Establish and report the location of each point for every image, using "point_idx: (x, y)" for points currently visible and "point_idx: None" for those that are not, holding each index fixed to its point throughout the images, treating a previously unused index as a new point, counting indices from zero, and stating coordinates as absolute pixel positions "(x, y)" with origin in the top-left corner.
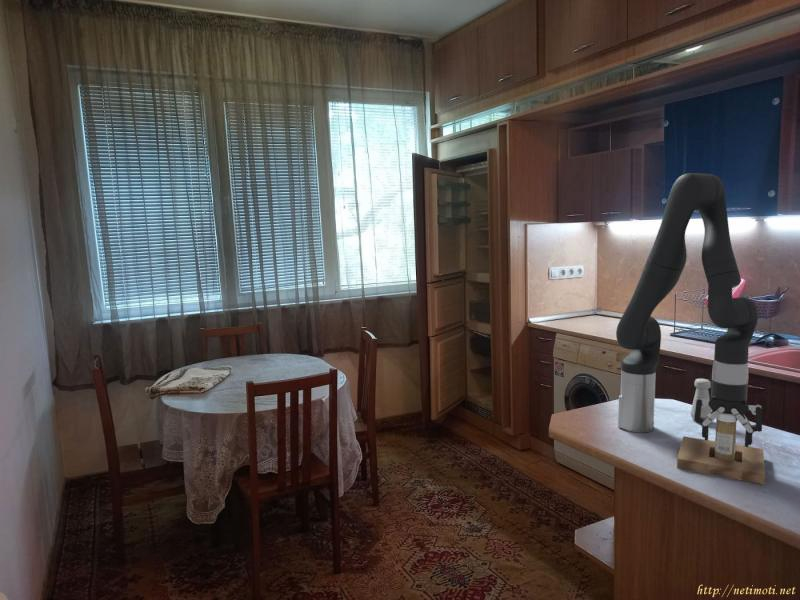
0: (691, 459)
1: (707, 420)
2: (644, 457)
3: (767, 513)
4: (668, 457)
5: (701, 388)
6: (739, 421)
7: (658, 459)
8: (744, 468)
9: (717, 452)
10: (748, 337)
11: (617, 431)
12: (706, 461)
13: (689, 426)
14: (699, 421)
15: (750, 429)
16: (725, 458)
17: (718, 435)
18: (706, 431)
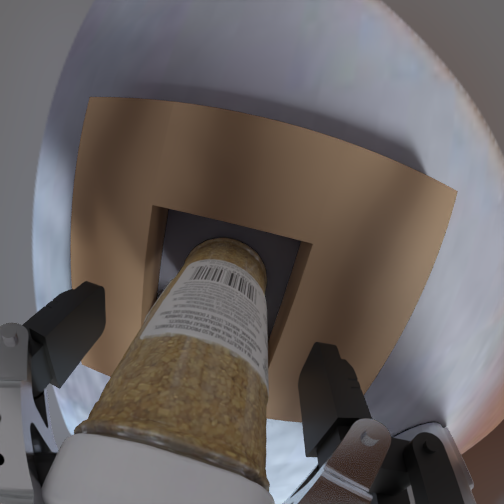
0: (407, 187)
1: (362, 466)
2: (490, 262)
3: None
4: (428, 285)
5: None
6: (19, 416)
7: (463, 257)
8: (157, 126)
9: (259, 285)
10: None
11: (459, 409)
12: (342, 171)
13: (270, 479)
14: (399, 448)
15: (2, 338)
16: (223, 252)
17: (257, 350)
18: (340, 385)
